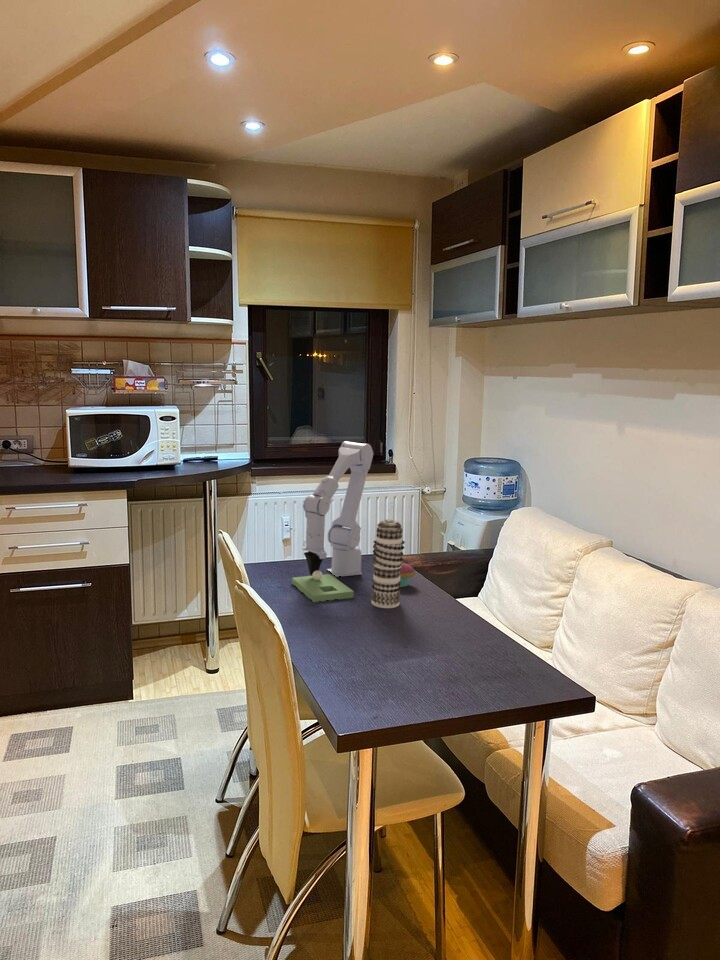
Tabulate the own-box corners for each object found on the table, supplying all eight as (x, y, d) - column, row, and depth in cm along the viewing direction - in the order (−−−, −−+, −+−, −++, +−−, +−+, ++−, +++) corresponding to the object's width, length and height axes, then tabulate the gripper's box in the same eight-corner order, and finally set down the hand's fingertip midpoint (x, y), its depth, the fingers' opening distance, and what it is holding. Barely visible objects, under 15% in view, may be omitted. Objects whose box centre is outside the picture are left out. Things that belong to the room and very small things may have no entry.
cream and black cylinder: (401, 609, 209) (406, 526, 205) (369, 607, 209) (374, 524, 205) (400, 599, 218) (405, 518, 214) (370, 597, 218) (374, 517, 214)
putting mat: (329, 579, 233) (329, 573, 233) (353, 597, 217) (353, 591, 217) (291, 583, 228) (292, 577, 227) (313, 602, 212) (313, 595, 211)
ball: (319, 578, 228) (320, 568, 227) (323, 581, 225) (324, 571, 224) (310, 579, 226) (310, 569, 226) (314, 582, 224) (314, 572, 223)
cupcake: (382, 581, 234) (384, 546, 232) (405, 579, 238) (408, 544, 235) (395, 590, 226) (397, 553, 224) (418, 587, 230) (421, 551, 228)
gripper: (295, 528, 230) (293, 569, 233) (312, 539, 218) (310, 582, 220) (315, 527, 233) (313, 567, 236) (333, 538, 221) (331, 580, 223)
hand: (313, 574), depth 228 cm, fingers closed
